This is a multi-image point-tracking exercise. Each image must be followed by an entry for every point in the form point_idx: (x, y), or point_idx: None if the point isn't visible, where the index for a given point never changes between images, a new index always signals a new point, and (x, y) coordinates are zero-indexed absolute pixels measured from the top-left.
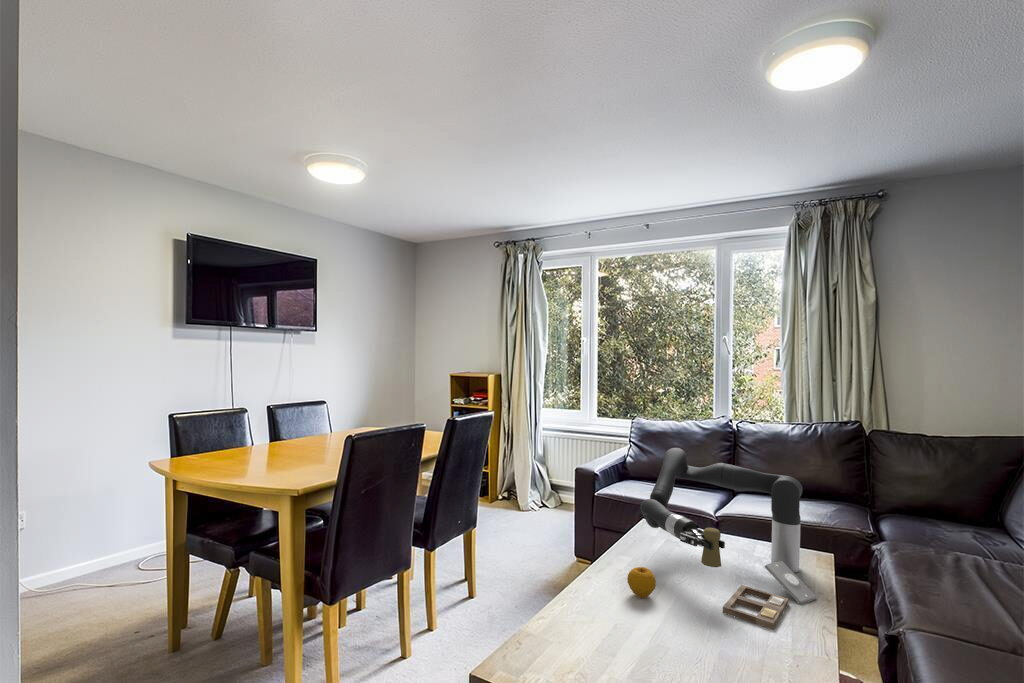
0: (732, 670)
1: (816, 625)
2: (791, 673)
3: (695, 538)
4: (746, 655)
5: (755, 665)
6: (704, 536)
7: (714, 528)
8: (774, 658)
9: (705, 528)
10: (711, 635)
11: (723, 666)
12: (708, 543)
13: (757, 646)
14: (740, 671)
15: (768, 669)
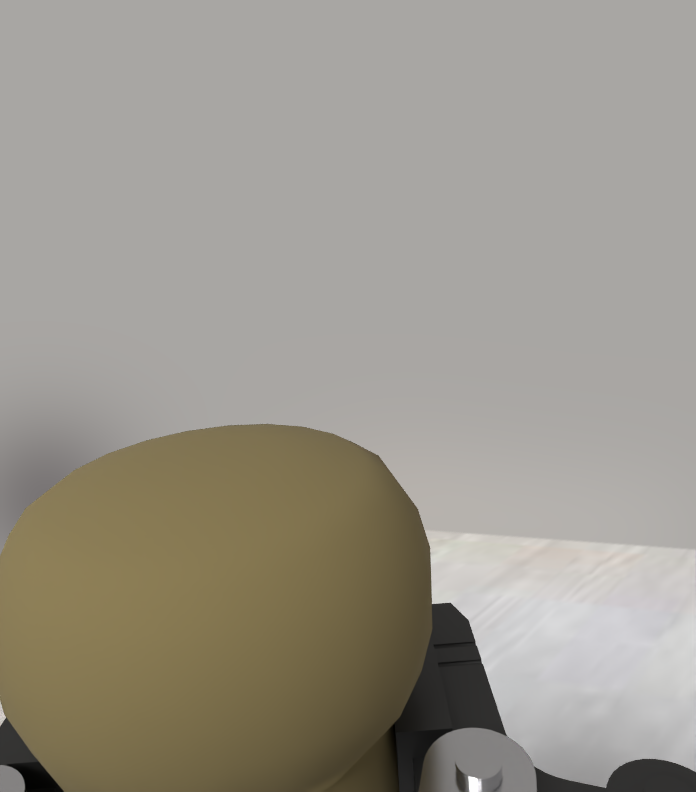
0: (655, 558)
1: None
2: (450, 534)
3: (681, 780)
4: (552, 600)
5: (550, 564)
6: (424, 649)
7: (103, 473)
8: (448, 579)
9: (279, 564)
10: (664, 725)
11: (684, 572)
12: (433, 625)
13: None
14: (626, 553)
15: (515, 550)
